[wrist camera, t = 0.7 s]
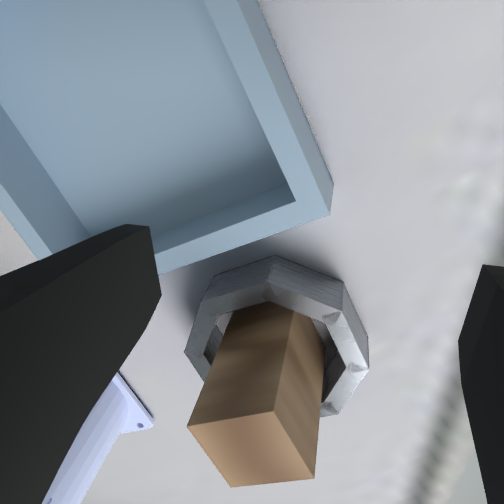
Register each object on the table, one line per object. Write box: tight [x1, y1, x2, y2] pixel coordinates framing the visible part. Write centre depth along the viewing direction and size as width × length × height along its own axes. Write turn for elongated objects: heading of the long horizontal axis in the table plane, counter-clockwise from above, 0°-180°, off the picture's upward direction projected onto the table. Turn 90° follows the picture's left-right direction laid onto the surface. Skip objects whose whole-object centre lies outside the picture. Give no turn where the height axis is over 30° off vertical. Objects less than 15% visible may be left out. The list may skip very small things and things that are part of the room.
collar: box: [184, 255, 369, 417], centre depth 23 cm, size 9×9×2 cm
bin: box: [0, 0, 334, 275], centre depth 18 cm, size 14×14×4 cm
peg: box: [187, 301, 326, 487], centre depth 21 cm, size 4×4×8 cm
